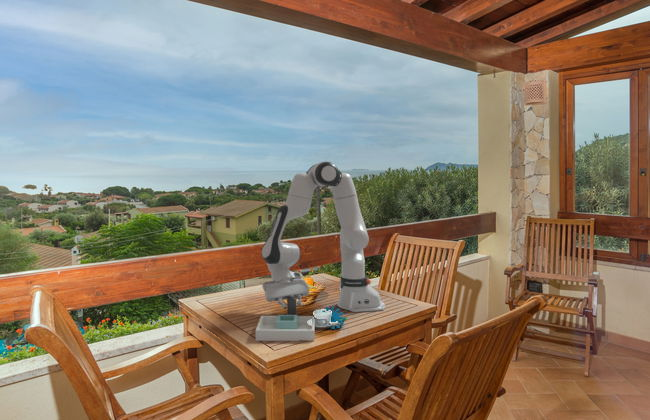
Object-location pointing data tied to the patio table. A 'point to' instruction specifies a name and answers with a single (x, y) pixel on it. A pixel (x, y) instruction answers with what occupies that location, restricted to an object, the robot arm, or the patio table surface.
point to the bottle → (291, 305)
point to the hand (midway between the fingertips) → (292, 306)
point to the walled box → (285, 328)
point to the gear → (336, 317)
